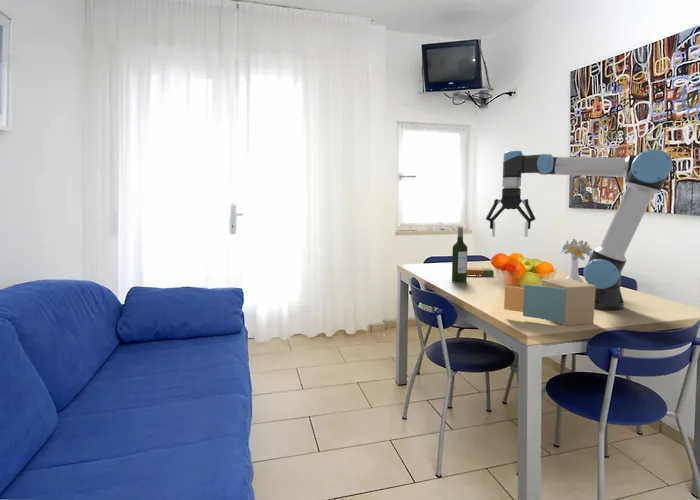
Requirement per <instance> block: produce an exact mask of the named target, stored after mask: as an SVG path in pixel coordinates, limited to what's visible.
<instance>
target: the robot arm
mask: <svg viewBox="0 0 700 500" xmlns="http://www.w3.org/2000/svg"><path fill="white" fill-rule="evenodd" d="M673 165H674V164H673V159H672V157H671V156H670V154H668V153H667V152H666V151H664V150H661V149H656V148H655V149H654V148H651V149H646V150H644V151H642V152H640V153H638V154H635V155H634V154H631V155H630V154H629V155H628V156H627V157H593V156H592V157H591V156H589V157H586V156H584V157H583V156H580V157H578V156H577V157H575V156H574V157H573V156H553V155H552V154H550V153H541V154H530V155H527V154H526V155H525V154H523V151H521V150H509V151H506V152H504V154H503V161H502V186H501V187H503V188H502V189H501V190H502V191H501V199H497V198H494V201H493V205H492V206H491V208H490V209H489V211H488V214H487V215H486V217H485V220H487V221H488V222H489V229H490V230H492V231H491V236H492V237H494V238H496V237H495V236H496V221H495V220H496V219H497V218H498V217H499V215H501V214H502V212H504V210H517V211H518V212H519V213H520V214H521V216H522V217H523V218H524V219H525V221H524V231H523V232H524V233H523V237H525V238H528V234H529V230H531V225H532V224H531V222H533V221H536V216H535V215H534V213H533V211H532V209H531V206H530V203H529V199H528V198H524V199H522V197H521V195H522V194H521V193H522V192H521V191H522V189H521V187H522V174H540V175H544V176H545V175H556V176H557V175H559V176H560V175H561V176H584V177H585V176H590V177H613V178H615V177H616V178H623V179H624V183H625V186H626V189H625V191H624V194H623V195H622V197H621V200H620V202H619V204H618V207H617V209H616V211H615V214H614V215H613V218H612V220H611V222H610V225H609V227H608V228H607V231H606V233H605V235H604V236H603V240H602V242H601V244H600V245H599V247H596V248H594V249H593V250H592V251H590V256H588V257H589V259H588V262H587V263H586V264H585V266H584V268H583V271H582V272H583V273H582V274H583V277H584V279H585V281H586V283H587V284H591V285H595V286H596V291H595V306H594V309H597V310H603V311H604V310H606V311H607V310H608V311H620V310H623V309H624V307H625V302H624V298H623V294H622V292H621V280H622V279H621V278H622V270H623V269H624V266H625V264H626V262H627V258H626V256H625V254H626V252H627V250H628V248H629V246H630V244H631V242H632V240H633V238H634V235H635V234H636V232H637V229H638V227H639V225H640V223H641V221H642V219H643V218H644V217H643V216H644V214H645V212H646V211H647V208H648V207H649V204H650V203H651V200H652V198H653V196H654V195H656V194H657V193H659V192H661V191H662V189H663V186H664V185H665V182H666V180H667V178H668V177H669V174H671V171H672V169H673ZM500 203H501V206H500V208H499V209H498V210H497V211H496V212H495V210H496V208H497V207H498V205H499V204H500ZM521 203H522V204H523V205H524V208H525V209H526V211H527V213H528V215H527V213H526V212H525V211H524V210H523V209H522V207H521V206H520V205H521ZM494 212H495V214H494Z"/></svg>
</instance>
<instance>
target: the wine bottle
mask: <svg viewBox="0 0 700 500" xmlns="http://www.w3.org/2000/svg"><path fill="white" fill-rule="evenodd" d="M451 256H452V257H451V258H452V259H451V282H452V281H455V282H465V283H467V281H468V280H467V279H468V278H467V277H468V276H467V268H468V245H467V244H466V243H465V242H464V227H463V226H458V227H457V241H456V242H455V243H454V244H453V246H452V253H451ZM455 282H454V283H455Z"/></svg>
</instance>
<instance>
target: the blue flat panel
mask: <svg viewBox="0 0 700 500" xmlns="http://www.w3.org/2000/svg"><path fill="white" fill-rule="evenodd" d="M503 299H504V303H503V304H504V305H503V310H506V311H513V312H521V313H522V317H526V318H527V317H528V318H535V319H540V320H547V321H553V322H555V321H559V322H564V317H565V300H566V289H562V288H553V287H544V286H541V285H535V284H534V285H533V284H524V285H523V287H516V286H507V285H505V286H504V298H503Z"/></svg>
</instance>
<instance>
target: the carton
mask: <svg viewBox="0 0 700 500" xmlns="http://www.w3.org/2000/svg"><path fill="white" fill-rule="evenodd" d="M467 275H476V276H477V275H478V276H479V275H481V276H495V272H494V270H493V269H492V268H489V267H488V268H487V267H486V268H484V267H480V268H479V267H467Z"/></svg>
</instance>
